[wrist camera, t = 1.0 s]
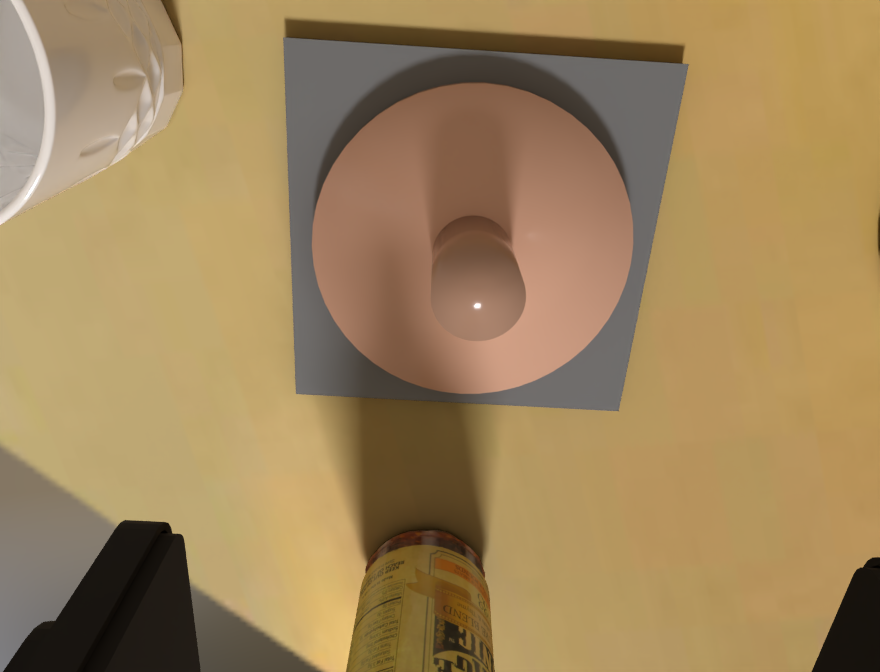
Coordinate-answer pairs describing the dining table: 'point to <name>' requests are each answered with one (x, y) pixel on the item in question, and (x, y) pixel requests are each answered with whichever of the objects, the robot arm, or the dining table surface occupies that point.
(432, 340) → the lid
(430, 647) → the sauce bottle
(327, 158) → the mat
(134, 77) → the white cup
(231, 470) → the dining table surface
